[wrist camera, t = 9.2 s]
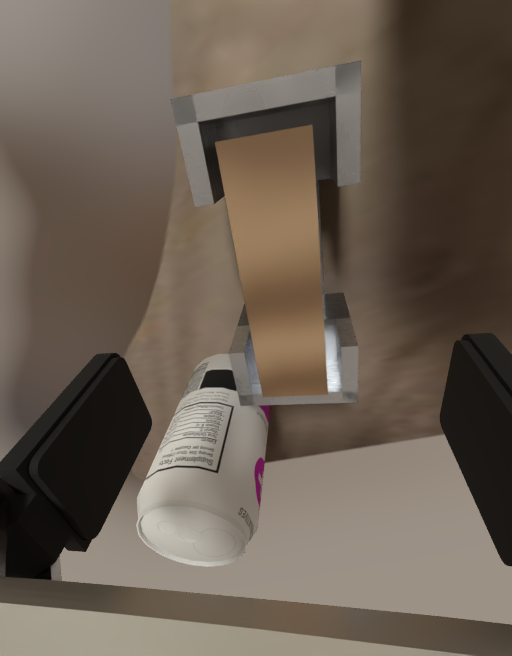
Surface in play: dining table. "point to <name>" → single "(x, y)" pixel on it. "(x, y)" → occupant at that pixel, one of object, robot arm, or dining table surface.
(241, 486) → the supplement can
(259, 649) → the robot arm
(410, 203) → the dining table surface
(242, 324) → the bracket stand
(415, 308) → the dining table surface
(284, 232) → the brown wooden block
